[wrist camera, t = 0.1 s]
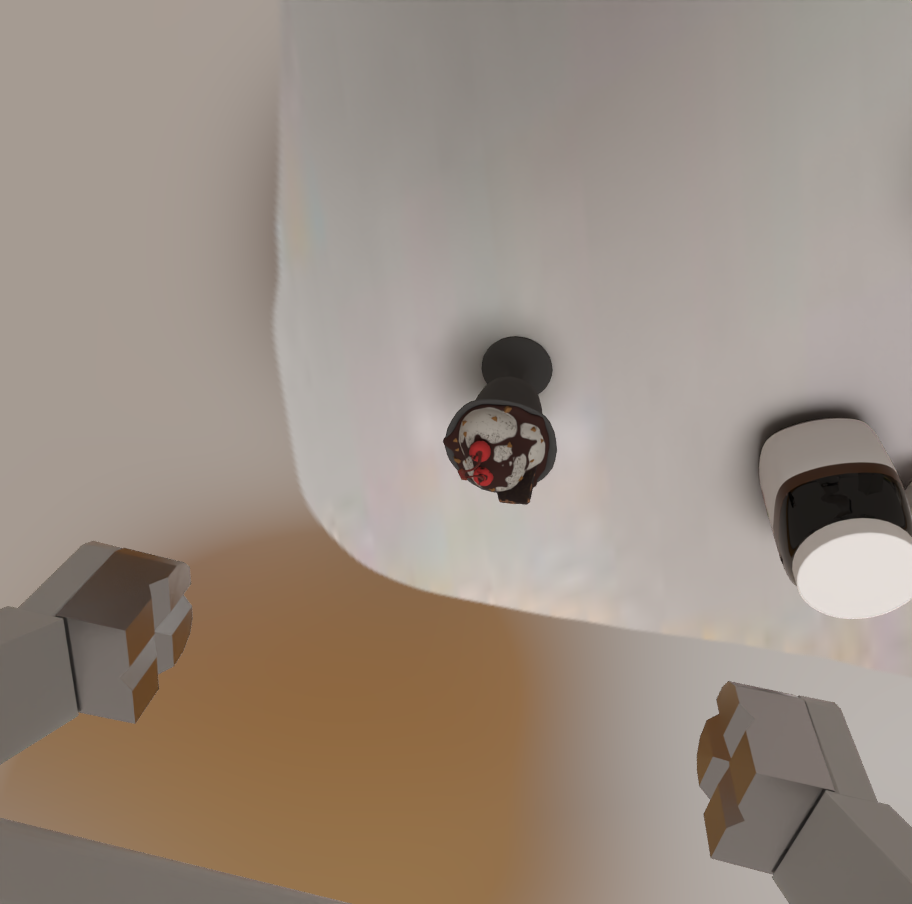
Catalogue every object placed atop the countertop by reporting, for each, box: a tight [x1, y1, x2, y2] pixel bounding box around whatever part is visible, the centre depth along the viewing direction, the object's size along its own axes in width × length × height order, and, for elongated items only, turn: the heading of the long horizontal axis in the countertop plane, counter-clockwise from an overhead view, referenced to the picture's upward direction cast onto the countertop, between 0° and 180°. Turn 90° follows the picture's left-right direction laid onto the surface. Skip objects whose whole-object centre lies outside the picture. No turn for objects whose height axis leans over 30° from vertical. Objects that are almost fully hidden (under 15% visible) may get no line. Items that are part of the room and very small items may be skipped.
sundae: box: [443, 337, 557, 504], centre depth 46 cm, size 7×7×15 cm
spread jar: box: [759, 418, 912, 619], centre depth 47 cm, size 12×11×12 cm
